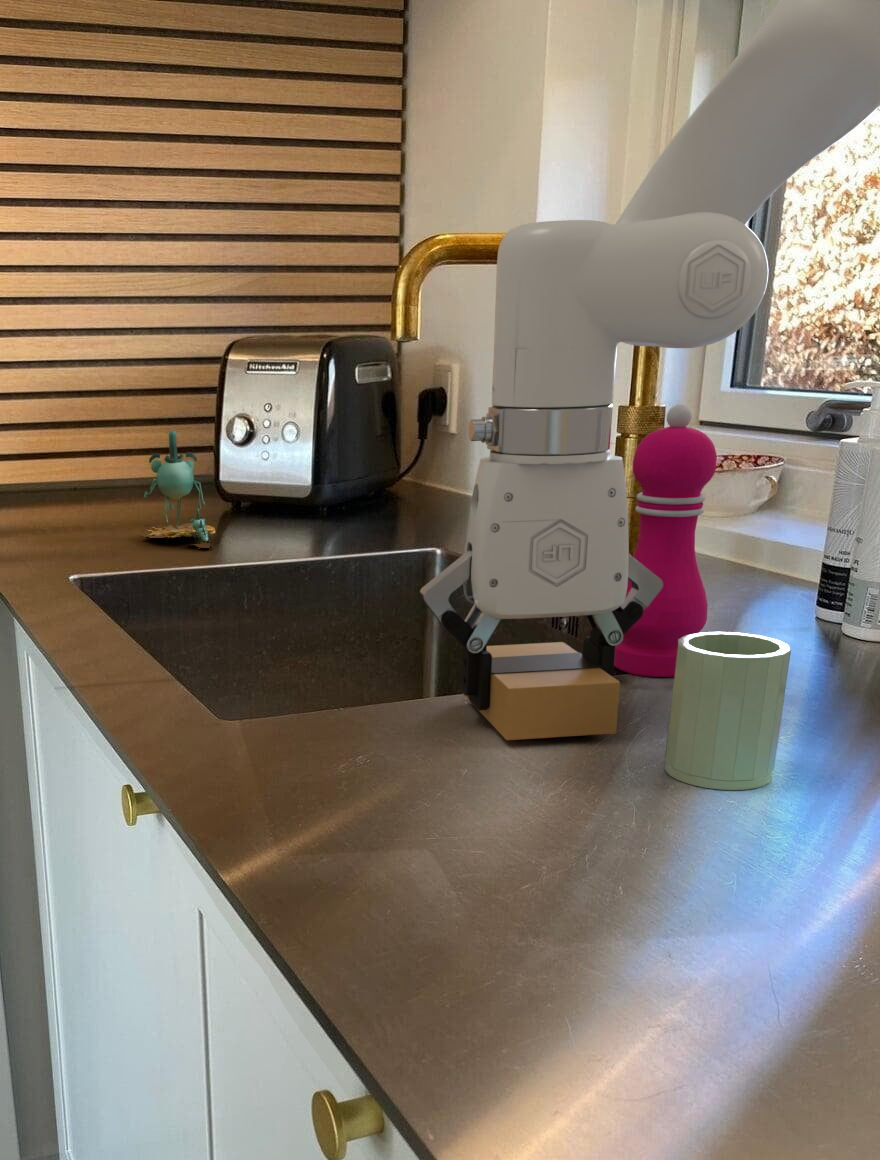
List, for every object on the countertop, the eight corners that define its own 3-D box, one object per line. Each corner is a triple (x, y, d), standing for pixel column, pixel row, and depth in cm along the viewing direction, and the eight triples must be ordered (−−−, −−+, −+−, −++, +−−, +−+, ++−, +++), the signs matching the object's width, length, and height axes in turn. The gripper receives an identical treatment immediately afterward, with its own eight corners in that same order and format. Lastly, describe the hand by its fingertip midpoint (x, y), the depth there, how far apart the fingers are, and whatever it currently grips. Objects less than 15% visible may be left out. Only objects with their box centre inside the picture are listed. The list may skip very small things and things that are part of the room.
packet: (462, 693, 89) (463, 646, 88) (560, 688, 90) (563, 640, 88) (505, 740, 79) (508, 687, 77) (616, 733, 79) (620, 680, 78)
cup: (741, 753, 77) (758, 630, 74) (791, 787, 71) (811, 655, 69) (648, 758, 77) (661, 634, 74) (690, 792, 71) (706, 659, 68)
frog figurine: (151, 554, 149) (141, 428, 145) (135, 547, 166) (125, 434, 162) (228, 549, 151) (220, 425, 147) (204, 543, 168) (196, 431, 164)
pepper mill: (660, 652, 101) (686, 400, 94) (720, 673, 95) (753, 405, 88) (588, 661, 99) (609, 403, 92) (645, 683, 92) (673, 408, 85)
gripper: (430, 445, 73) (424, 725, 79) (706, 435, 75) (679, 709, 81) (403, 435, 80) (400, 693, 86) (657, 426, 82) (635, 679, 88)
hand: (535, 699), depth 84 cm, fingers closed on packet, 7 cm apart
